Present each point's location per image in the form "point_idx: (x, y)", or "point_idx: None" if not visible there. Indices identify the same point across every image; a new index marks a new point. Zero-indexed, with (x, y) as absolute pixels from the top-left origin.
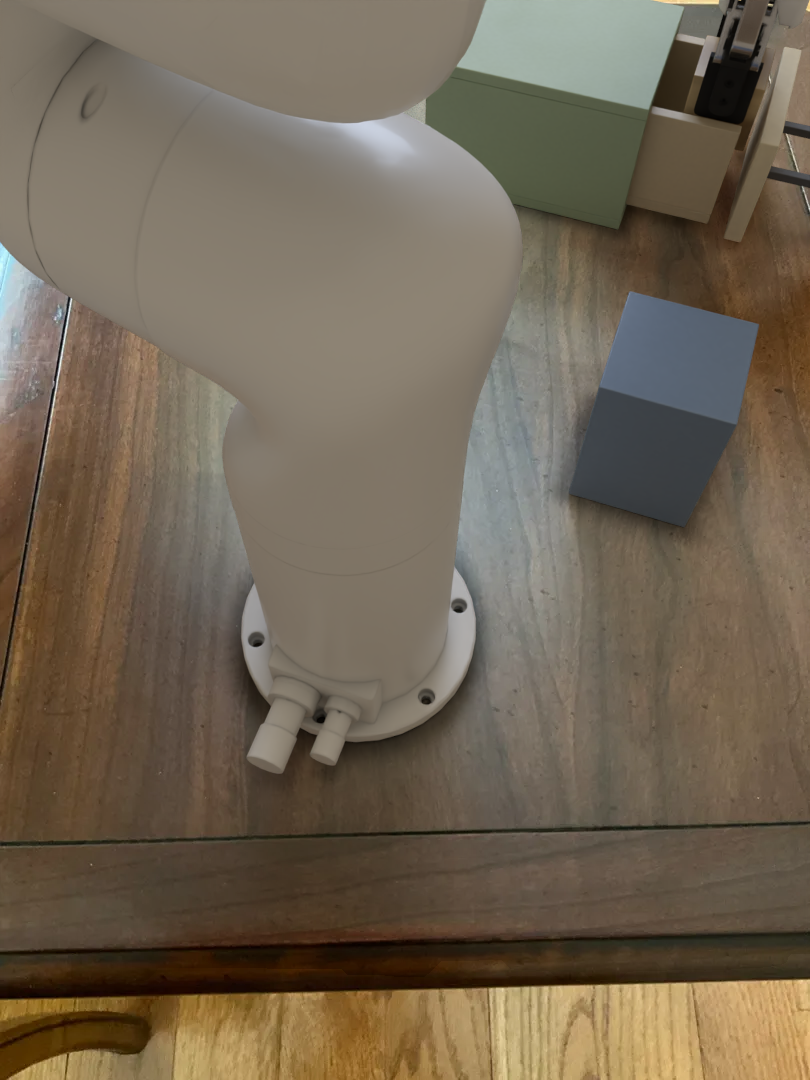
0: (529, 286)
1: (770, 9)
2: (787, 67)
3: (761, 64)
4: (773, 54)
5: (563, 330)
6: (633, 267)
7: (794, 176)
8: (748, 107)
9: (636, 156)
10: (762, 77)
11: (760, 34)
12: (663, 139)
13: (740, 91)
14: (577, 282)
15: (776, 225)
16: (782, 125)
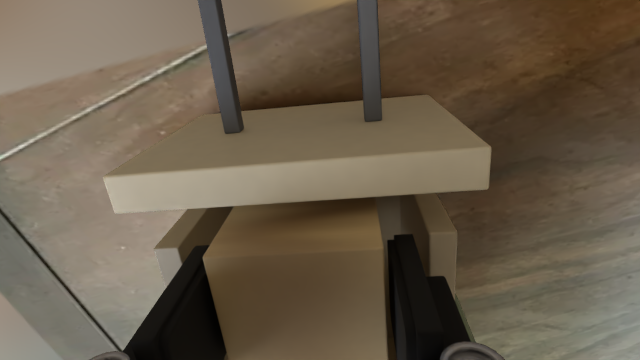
0: (565, 304)
1: (148, 357)
2: (185, 192)
3: (427, 336)
4: (227, 259)
5: (634, 254)
6: (498, 210)
7: (379, 64)
8: (417, 253)
9: (469, 329)
10: (334, 264)
11: (192, 312)
12: None
13: (459, 314)
14: (545, 261)
15: (339, 48)
16: (405, 157)
